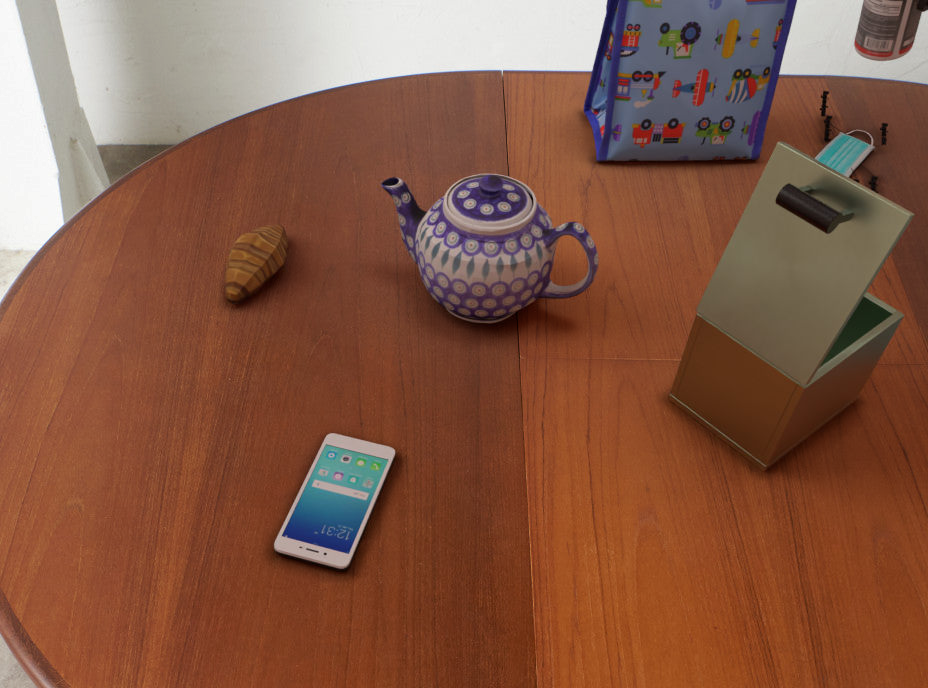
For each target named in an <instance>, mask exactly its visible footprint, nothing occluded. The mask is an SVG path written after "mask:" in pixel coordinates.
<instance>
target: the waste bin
mask: <svg viewBox="0 0 928 688" xmlns="http://www.w3.org/2000/svg"><path fill="white" fill-rule="evenodd" d="M904 317H905V314H904V313H902V312H901V311H900V310H898V309H896V308H894V307H893V306H891V305H889V304H888V303H887V302H885V301H884V300H882V299H880V298H878V297H876V296H875V295H873V294H871V293H870V292H868V291H867V292H866V293H865V295H864V296H863V298H862V300H861V301H860V303H859V304H858V306H857V308H856V309H855V311H854V312H853V314H852V316H851V317H850V319H849V320H848V322H847V324H846V325H845V327H844V328H843V330H842V332H841V333H840V335H839V336H838V338H837V340H836V341H835V343H834V344H833V346H832V348H831V349H830V351H829V352H828V354H827V356H826V357H825V359H824V360H823V362H822V364H821V365H820V367H819V368H818V370H817V372H816V373H815V375H814V376H813V378H812V380H811V381H810V383H809V384H807V385H805V386H804V385H803V384H801V383H800V382H799V381H797V380H796V379H794V378H793V377H791V376H790V375H788V374H787V373H785V372H784V371H783V370H781V369H780V368H778V367H777V366H775V365H774V364H772V363H771V362H770V361H768V360H767V359H765V358H764V357H762V356H761V355H759V354H758V353H756V352H755V351H754V350H752V349H751V348H749V347H748V346H746V345H745V344H743V343H742V342H740V341H739V340H738V339H736V338H735V337H733V336H732V335H730V334H729V333H727V332H726V331H725V330H723V329H722V328H720V327H719V326H717V325H716V324H714V323H713V322H711V321H710V320H709V319H707V318H706V317H704V316H703V315H701V314H700V313H698V312H697V313H696V314H695V318H694V320H693V323H692V325H691V330H690V332H689V335H688V337H687V341H686V343H685V347H684V350H683V353H682V356H681V358H680V361H679V365H678V368H677V370H676V374H675V377H674V380H673V383H672V386H671V389H670V392H669V394H668V398H667V399H668V401H670V402H671V403H672V404H674V406H677V407H678V408H679V409H681V410H682V411H683V412H684V413H686V415H688V416H689V417H691V419H693V420H695V421H697V423H699V424H700V425H701V426H703V427H704V428H705V429H707V430H708V431H709V432H711V433H712V434H714V435H715V436H716V437H717V438H719V439H720V440H721V441H722V442H723V443H724V444H727V446H729V447H730V448H732V449H733V450H734V451H736V452H737V453H738V454H740V455H741V456H742V457H744V458H745V459H746V460H747V461H749V462H750V463H752V465H754V466H756V467H757V468H758V469H760V470H761V471H762V472H765V471H766V470H768V469H769V468H770V467H772V466H773V465H774V464H776V463H777V462H778V461H780V460H781V459H782V458H784V457H785V456H786V455H788V453H790V452H791V451H792V450H794V449H795V448H797V446H799V445H801V443H803V442H804V441H805V440H807V439H808V438H809V437H810V436H812V435H813V434H814V433H817V431H819V429H821V428H822V427H824V426H825V425H827V424H828V423H829V422H830V421H831V420H832V419H834V418H835V417H836V416H838V415H839V414H840V413H842V412H843V411H845V410H846V409H847V408H848V407H850V406H851V405H852V404H853V403H855V402H856V401H857V400H858V398H859V396H860V395H861V393H862V392H863V390H864V388H865V386H866V384H867V382H868V381H869V379H870V377H871V375H872V373H873V372H874V370H875V368H876V367H877V364H878V363H879V361H880V360H881V358H882V356H883V354H884V352H885V351H886V349H887V347H888V345H889V343H890V341H892V338H893V336H894V335H895V333H896V331H897V329H898V328H899V326H900V324H901V322H902V321H903V319H904Z"/></svg>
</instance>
